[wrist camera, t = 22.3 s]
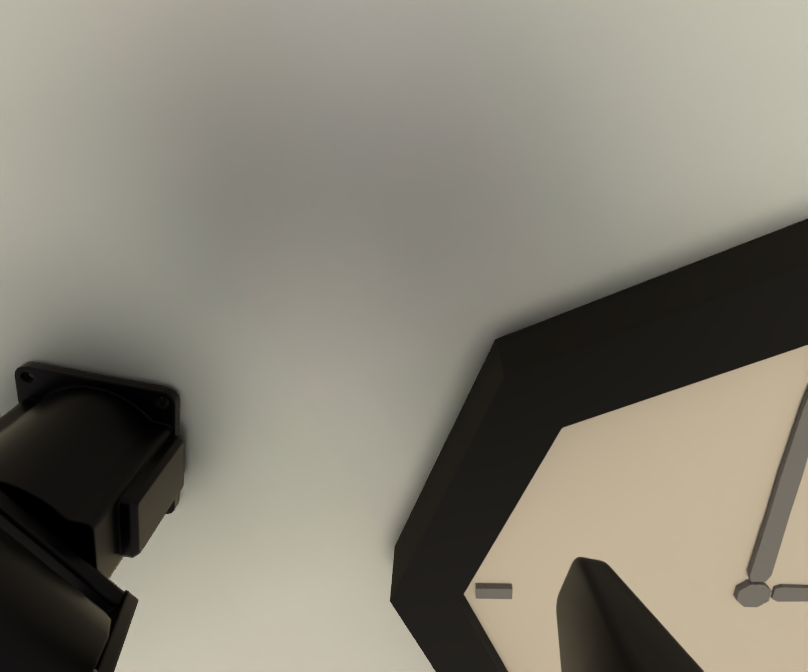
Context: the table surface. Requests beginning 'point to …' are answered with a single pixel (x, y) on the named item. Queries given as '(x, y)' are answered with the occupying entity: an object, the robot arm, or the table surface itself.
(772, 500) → the wall clock
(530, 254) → the table surface
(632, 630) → the robot arm
